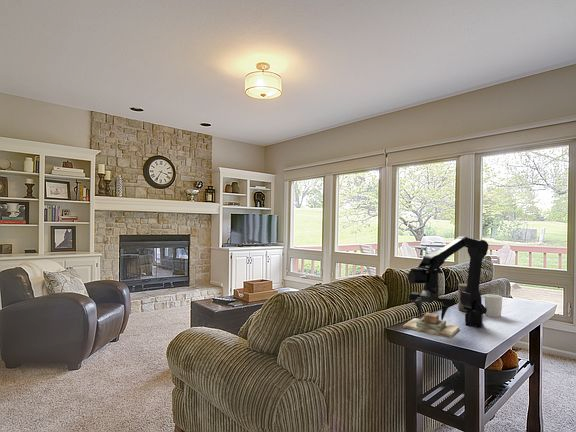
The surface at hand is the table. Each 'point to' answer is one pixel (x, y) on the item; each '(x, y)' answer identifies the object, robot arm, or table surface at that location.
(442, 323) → the socket board
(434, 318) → the terracotta cube
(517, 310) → the table surface
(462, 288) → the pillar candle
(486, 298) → the white cup
